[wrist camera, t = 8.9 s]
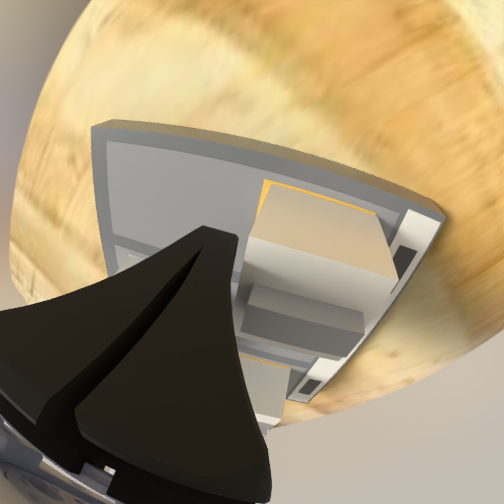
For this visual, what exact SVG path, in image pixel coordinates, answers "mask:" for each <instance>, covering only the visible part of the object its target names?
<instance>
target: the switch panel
mask: <svg viewBox="0 0 504 504" xmlns="http://www.w3.org/2000/svg"><path fill="white" fill-rule="evenodd" d="M91 150H92V168H93V181H94V192H95V201H96V209H97V217H98V224H99V230H100V236H101V242H102V247H103V253H104V258H105V263H106V267H107V272H108V277H111V276H113V275H114V274H115V273H116V272H117V270H118V269H119V268H120V267H121V266H122V265H123V263H124V262H125V261H126V260H127V259H128V258H129V257H133V258H136V259H139V260H144V259H146V258H148V257H150V256H152V255H154V254H155V253H157V252H159V251H160V250H162V249H164V248H165V247H167V246H169V245H170V244H172V243H174V242H175V241H177V240H179V239H180V238H182V237H184V236H185V235H187V234H188V233H190V232H192V231H193V230H195V229H197V228H199V227H200V226H202V225H204V226H208V227H211V228H215V229H219V230H222V231H226V232H229V233H233V234H236V235H237V236H238V238H239V241H238V246H237V252H236V257H235V262H234V267H233V273H232V278H231V302H232V312H233V308H234V303H235V298H236V294H237V289H238V284H239V279H240V275H241V270H242V265H243V261H244V256H245V251H246V247H247V242H248V238H249V234H250V232H251V230H252V228H253V225H254V223H255V221H256V218H257V216H258V214H259V211H260V209H261V207H262V204H263V202H264V200H265V197H266V195H267V193H268V191H269V188H270V186H271V184H274V185H278V186H281V187H285V188H289V189H292V190H296V191H299V192H302V193H306V194H309V195H313V196H316V197H319V198H322V199H326V200H329V201H332V202H335V203H338V204H341V205H344V206H348V207H351V208H354V209H357V210H359V211H362V212H365V213H368V214H371V215H374V216H377V217H378V219H379V222H380V225H381V227H382V230H383V233H384V236H385V238H386V241H387V244H388V247H389V250H390V253H391V256H392V259H393V262H394V265H395V269H396V272H397V275H398V279H399V281H398V282H397V284H396V285H395V287H394V288H393V290H392V291H391V293H390V294H389V296H388V297H387V299H386V300H385V302H384V303H383V305H382V306H381V307H380V309H379V310H378V312H377V313H376V315H375V316H374V317H373V319H372V320H371V321H370V323H369V324H368V325H367V327H366V328H365V335H364V336H363V338H362V339H361V340H360V341H359V343H358V344H357V345H356V346H355V347H354V349H353V350H352V351H351V352H350V353H349V355H348V356H347V357H346V358H345V357H342V358H341V359H340V361H335V360H330V359H325V358H320V357H316V356H311V355H307V354H303V353H299V352H294V351H290V350H286V349H282V348H279V347H275V346H271V345H267V344H263V343H260V342H256V341H253V340H249V339H246V338H242V337H239V336H235V337H236V343H237V349H238V354H239V356H243V357H246V358H250V359H254V360H257V361H261V362H265V363H269V364H272V365H276V366H280V367H285V368H289V369H290V375H289V381H288V387H287V393H286V399H287V400H292V401H297V402H302V403H308V402H309V401H310V400H311V399H312V398H313V397H314V396H315V395H316V394H317V393H318V392H319V391H320V390H321V389H322V388H323V387H324V386H325V385H326V384H327V383H328V382H329V381H330V380H331V379H332V378H333V377H334V376H335V375H336V374H337V373H338V372H339V370H340V369H341V368H342V367H343V366H344V365H345V364H346V363H347V362H348V360H349V359H350V358H351V357H352V356H353V355H354V353H355V352H356V351H357V350H358V349H359V348H360V346H361V345H362V344H363V343H364V342H365V340H366V339H367V338H368V337H369V335H370V334H371V333H372V332H373V330H374V329H375V328H376V327H377V325H378V324H379V323H380V321H381V320H382V319H383V317H384V316H385V315H386V313H387V312H388V311H389V309H390V308H391V307H392V305H393V304H394V302H395V301H396V300H397V298H398V297H399V295H400V294H401V292H402V291H403V289H404V288H405V286H406V285H407V283H408V282H409V280H410V279H411V277H412V276H413V274H414V273H415V271H416V270H417V268H418V266H419V265H420V263H421V262H422V260H423V258H424V257H425V255H426V253H427V252H428V250H429V248H430V246H431V245H432V243H433V241H434V239H435V238H436V236H437V234H438V232H439V230H440V228H441V227H442V225H443V223H444V221H445V219H446V216H445V215H444V213H443V212H442V211H441V210H440V208H439V207H438V206H437V204H436V203H435V202H434V201H433V200H431V199H429V198H426V197H424V196H422V195H420V194H417V193H415V192H413V191H410V190H408V189H406V188H403V187H401V186H399V185H396V184H394V183H391V182H389V181H386V180H384V179H381V178H378V177H376V176H373V175H370V174H368V173H365V172H362V171H359V170H357V169H354V168H351V167H348V166H345V165H342V164H339V163H336V162H333V161H330V160H327V159H323V158H320V157H317V156H313V155H310V154H307V153H303V152H300V151H296V150H292V149H289V148H285V147H281V146H277V145H273V144H269V143H265V142H261V141H256V140H252V139H247V138H243V137H238V136H233V135H228V134H223V133H218V132H212V131H207V130H201V129H194V128H188V127H181V126H174V125H166V124H158V123H149V122H138V121H126V120H109V121H106V122H103V123H100V124H97V125H94V126H91Z"/></svg>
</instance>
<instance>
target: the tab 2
mask: <svg viewBox="0 0 504 504" xmlns="http://www.w3.org/2000/svg"><path fill="white" fill-rule="evenodd" d="M398 281H399V279H398V275H397V272H396V269H395V265H394V262H393V259H392V256H391V253H390V250H389V247H388V244H387V241H386V238H385V236H384V233H383V230H382V227H381V225H380V222H379V219H378V217H377V216H374V215H371V214H368V213H365V212H362V211H359V210H357V209H354V208H351V207H348V206H344V205H341V204H338V203H335V202H332V201H329V200H326V199H322V198H319V197H316V196H313V195H309V194H306V193H302V192H299V191H296V190H292V189H289V188H285V187H281V186H278V185H274V184H271V186H270V188H269V191H268V193H267V195H266V197H265V200H264V202H263V204H262V207H261V209H260V211H259V214H258V216H257V218H256V221H255V223H254V225H253V228H252V230H251V232H250V234H249V238H248V242H247V247H246V251H245V256H244V261H243V265H242V270H241V275H240V279H239V284H238V289H237V294H236V298H235V303H234V308H233V312H232V314H233V323H234V331H235V336H239V337H242V338H246V339H249V340H253V341H256V342H260V343H263V344H267V345H271V346H275V347H279V348H282V349H286V350H290V351H294V352H299V353H303V354H307V355H311V356H316V357H320V358H325V359H330V360H335V361H340V359H341V358H342V357H345V358H346V357H347V356H348V355H349V353H350V352H351V351H352V350H353V349H354V347H355V346H356V345H357V344H358V343H359V341H360V340H361V339H362V338H363V336H364V335H365V328H366V327H367V325H368V324H369V323H370V321H371V320H372V319H373V317H374V316H375V315H376V313H377V312H378V310H379V309H380V307H381V306H382V305H383V303H384V302H385V300H386V299H387V297H388V296H389V294H390V293H391V291H392V290H393V288H394V287H395V285H396V284H397V282H398Z"/></svg>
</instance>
